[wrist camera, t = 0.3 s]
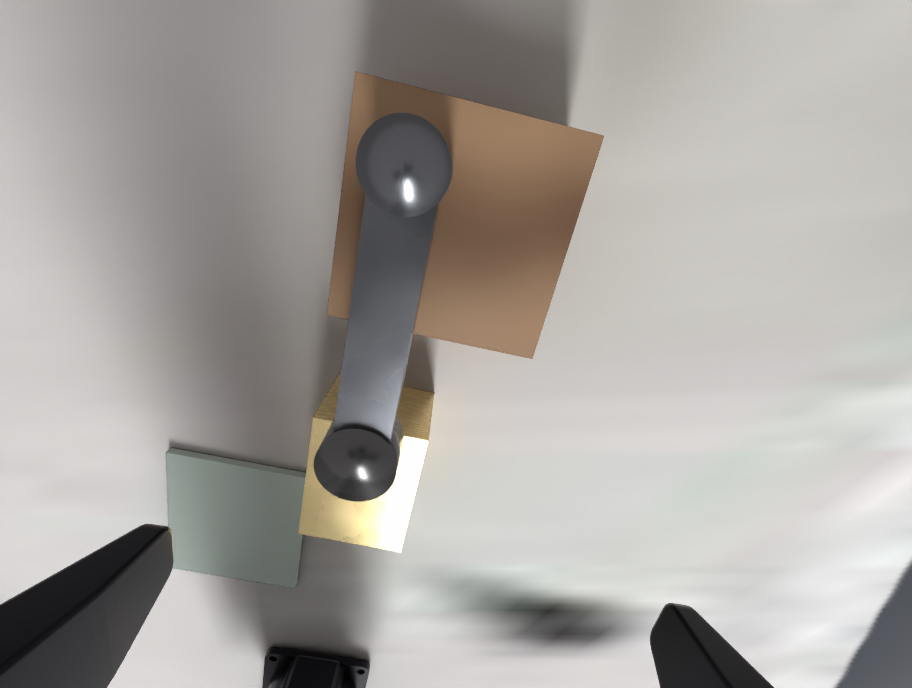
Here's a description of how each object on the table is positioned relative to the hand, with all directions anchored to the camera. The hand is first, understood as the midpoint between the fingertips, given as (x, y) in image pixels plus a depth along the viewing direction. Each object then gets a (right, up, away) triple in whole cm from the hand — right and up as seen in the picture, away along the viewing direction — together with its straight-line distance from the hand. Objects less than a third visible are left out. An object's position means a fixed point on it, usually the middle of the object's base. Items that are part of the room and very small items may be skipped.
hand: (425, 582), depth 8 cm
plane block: (0, +9, +9) cm, 13 cm away
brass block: (-3, 0, +13) cm, 14 cm away
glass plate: (-11, -5, +15) cm, 20 cm away
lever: (-2, +5, +6) cm, 8 cm away
